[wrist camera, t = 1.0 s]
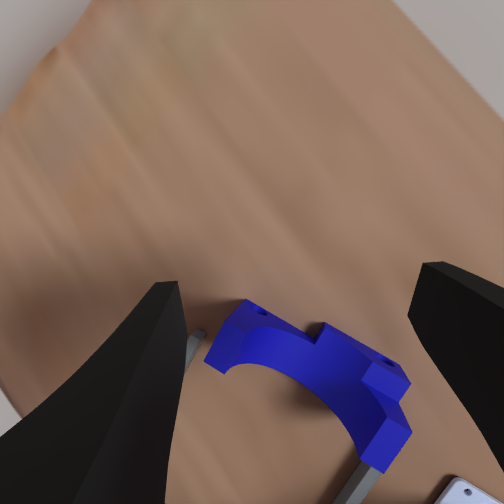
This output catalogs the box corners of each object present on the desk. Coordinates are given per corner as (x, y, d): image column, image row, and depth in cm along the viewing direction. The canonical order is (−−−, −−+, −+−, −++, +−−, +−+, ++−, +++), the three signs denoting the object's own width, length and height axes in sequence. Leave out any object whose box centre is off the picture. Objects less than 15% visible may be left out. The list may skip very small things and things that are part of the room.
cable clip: (399, 363, 23) (427, 410, 17) (366, 412, 24) (383, 474, 18) (255, 281, 24) (236, 299, 19) (229, 330, 25) (203, 361, 19)
